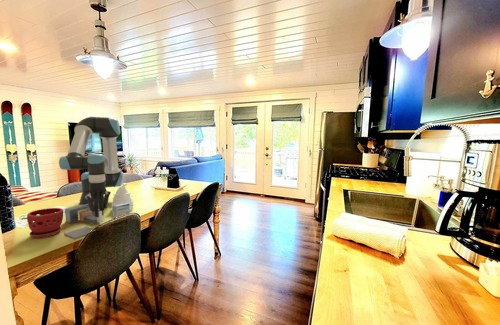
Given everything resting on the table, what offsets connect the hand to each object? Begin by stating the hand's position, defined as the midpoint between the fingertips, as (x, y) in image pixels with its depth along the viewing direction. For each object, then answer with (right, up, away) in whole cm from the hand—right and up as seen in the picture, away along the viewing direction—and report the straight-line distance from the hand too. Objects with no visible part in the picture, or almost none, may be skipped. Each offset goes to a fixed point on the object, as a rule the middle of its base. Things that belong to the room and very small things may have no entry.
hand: (99, 221), depth 120 cm
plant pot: (-17, -3, -13) cm, 22 cm away
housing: (-15, 0, +7) cm, 17 cm away
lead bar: (-6, -1, +3) cm, 7 cm away
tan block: (-12, 0, +6) cm, 14 cm away
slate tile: (-1, -3, -11) cm, 12 cm away
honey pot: (-2, +1, +25) cm, 25 cm away
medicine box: (+7, -1, +10) cm, 12 cm away
